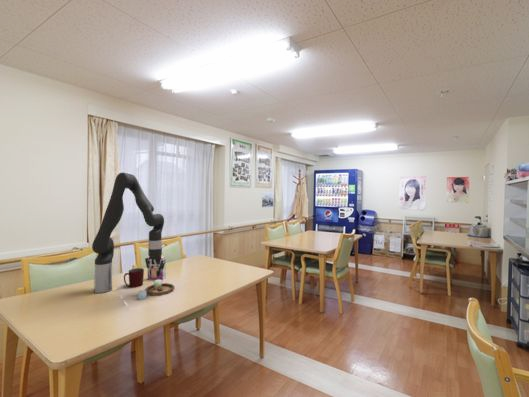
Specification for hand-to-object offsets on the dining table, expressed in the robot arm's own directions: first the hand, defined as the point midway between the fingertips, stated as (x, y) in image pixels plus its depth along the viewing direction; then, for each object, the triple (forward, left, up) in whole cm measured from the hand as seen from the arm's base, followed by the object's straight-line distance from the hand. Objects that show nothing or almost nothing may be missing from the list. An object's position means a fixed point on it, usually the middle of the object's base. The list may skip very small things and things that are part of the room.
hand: (155, 275), depth 159 cm
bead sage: (+3, +6, -10) cm, 13 cm away
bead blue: (-8, -4, -12) cm, 15 cm away
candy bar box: (+9, +26, -12) cm, 30 cm away
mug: (-7, +20, -12) cm, 24 cm away
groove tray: (+3, +2, -12) cm, 12 cm away
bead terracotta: (0, 0, 0) cm, 0 cm away
